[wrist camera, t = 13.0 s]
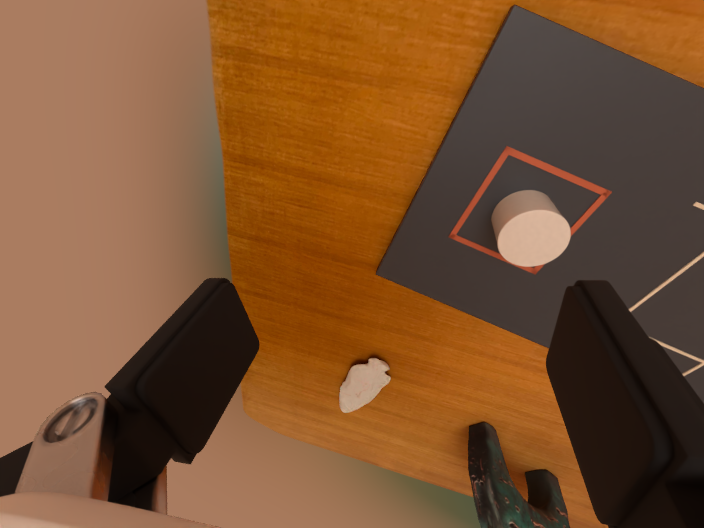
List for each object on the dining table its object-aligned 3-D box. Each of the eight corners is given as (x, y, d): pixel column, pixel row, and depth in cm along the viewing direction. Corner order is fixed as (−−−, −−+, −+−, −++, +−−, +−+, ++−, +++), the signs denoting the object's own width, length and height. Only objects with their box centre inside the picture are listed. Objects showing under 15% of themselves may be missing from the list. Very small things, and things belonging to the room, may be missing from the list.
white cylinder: (493, 191, 27) (500, 211, 24) (561, 187, 25) (578, 208, 22) (488, 242, 30) (494, 267, 26) (549, 241, 28) (563, 267, 25)
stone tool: (362, 343, 43) (330, 400, 52) (359, 355, 42) (327, 413, 50) (401, 358, 44) (363, 413, 52) (400, 371, 42) (361, 425, 50)
